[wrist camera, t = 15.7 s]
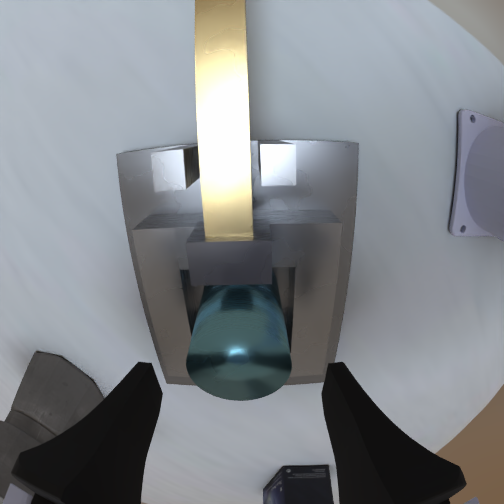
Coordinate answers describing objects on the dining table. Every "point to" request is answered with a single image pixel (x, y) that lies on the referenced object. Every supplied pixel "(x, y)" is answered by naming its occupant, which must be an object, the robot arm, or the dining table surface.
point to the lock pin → (225, 155)
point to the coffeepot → (43, 410)
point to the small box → (300, 486)
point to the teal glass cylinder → (240, 342)
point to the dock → (310, 190)
